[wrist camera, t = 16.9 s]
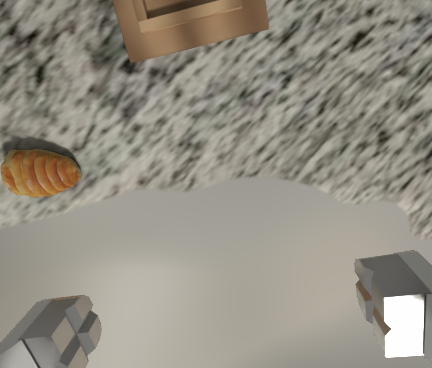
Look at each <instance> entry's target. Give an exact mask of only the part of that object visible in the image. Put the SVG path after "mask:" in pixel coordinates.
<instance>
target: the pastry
mask: <svg viewBox="0 0 432 368" xmlns="http://www.w3.org/2000/svg"><path fill="white" fill-rule="evenodd" d="M1 176H2V180H3V183H4V184H5V185H6V186H7V187H8V189H9V190H10V191H11V192H13V193H15V194H16V195H26V196H31V197H42V196H51V195H54V194H57V193H59V192H61V191H63V190H65V189H68V188H70V187H73V186H74V185H75V184H76V182H77V181H79V180H80V178H81V172H80V169H79V167H78V165H77V164H76V163H75V161H74V160H73V159H71V158H69V157H67V156H63V155H59V154H57V153H55V152H52V151H49V150H42V149H33V150H10V151H9V152H8V154H7V156H6V157H5V158H4V162H3V163H2V165H1Z"/></svg>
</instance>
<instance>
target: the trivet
mask: <svg viewBox="0 0 432 368" xmlns="http://www.w3.org/2000/svg"><path fill="white" fill-rule="evenodd" d="M112 1H113V5H114V8H115V12H116V15H117V18H118V22H119V25H120V29H121V32H122V35H123V39H124V42H125V46H126V49H127V53H128V56H129V59H130V63H135V62H139V61H143V60H147V59H151V58H155V57H159V56H163V55H167V54H171V53H175V52H179V51H183V50H187V49H191V48H195V47H199V46H203V45H207V44H211V43H215V42H219V41H223V40H227V39H231V38H235V37H239V36H243V35H247V34H251V33H255V32H259V31H263V30H267V29H269V24H268V16H267V9H266V2H265V0H112Z"/></svg>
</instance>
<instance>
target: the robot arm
mask: <svg viewBox="0 0 432 368" xmlns="http://www.w3.org/2000/svg"><path fill="white" fill-rule="evenodd" d="M355 272H356V274H357V276H358V278H359V281H358V282H357V284H356V291H357V297H358V302H359V305H360V308H361V310H362V313H363V315H364V317H365V319H366V320H367V321H369V322H370V323H372V324H373V331H374V336H375V338H376V339H377V341H378V343H379V345H380V347H381V349H382V351H383V352H384V354H385V356H386V357H395V356H414V355H424V357H425V358H426V359H428V360H429V361H430V362H432V265H431V264H430V263H429V262H428V261H427V260H426V259H425V258H424V257H423V256H421V255H420V254H419V253H418V252H417V251H414V250H412V251H405V252H399V253H394V254H390V255H383V256H375V257H368V258H361V259H355ZM92 306H93V304H92V302H91V300H90V298H89V297H88V296H85V295H79V296H70V297H60V298H53V299H45V300H41V301H39V302H37V303H36V304H35V305H34V306H33V307H32V308H31V309H30V311H28V313H27V314H26V315H25V316H24V317H23V318H22V320H20V322H19V323H18V324H17V325H16V326H15V327H14V328H13V330H11V332H10V333H9V334H8V335H7V336H6V337H5V338H4V339H3V341H2V342H0V368H85V367H86V366H87V364H88V357H87V355H88V354H90V353H91V352H92V351H93V350H94V349H95V348H96V346H97V344H98V342H99V340H100V336H101V330H102V329H101V322H100V320H99V317H98V315H96V314H95V313H93V312H92V311H91V309H92Z"/></svg>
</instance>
